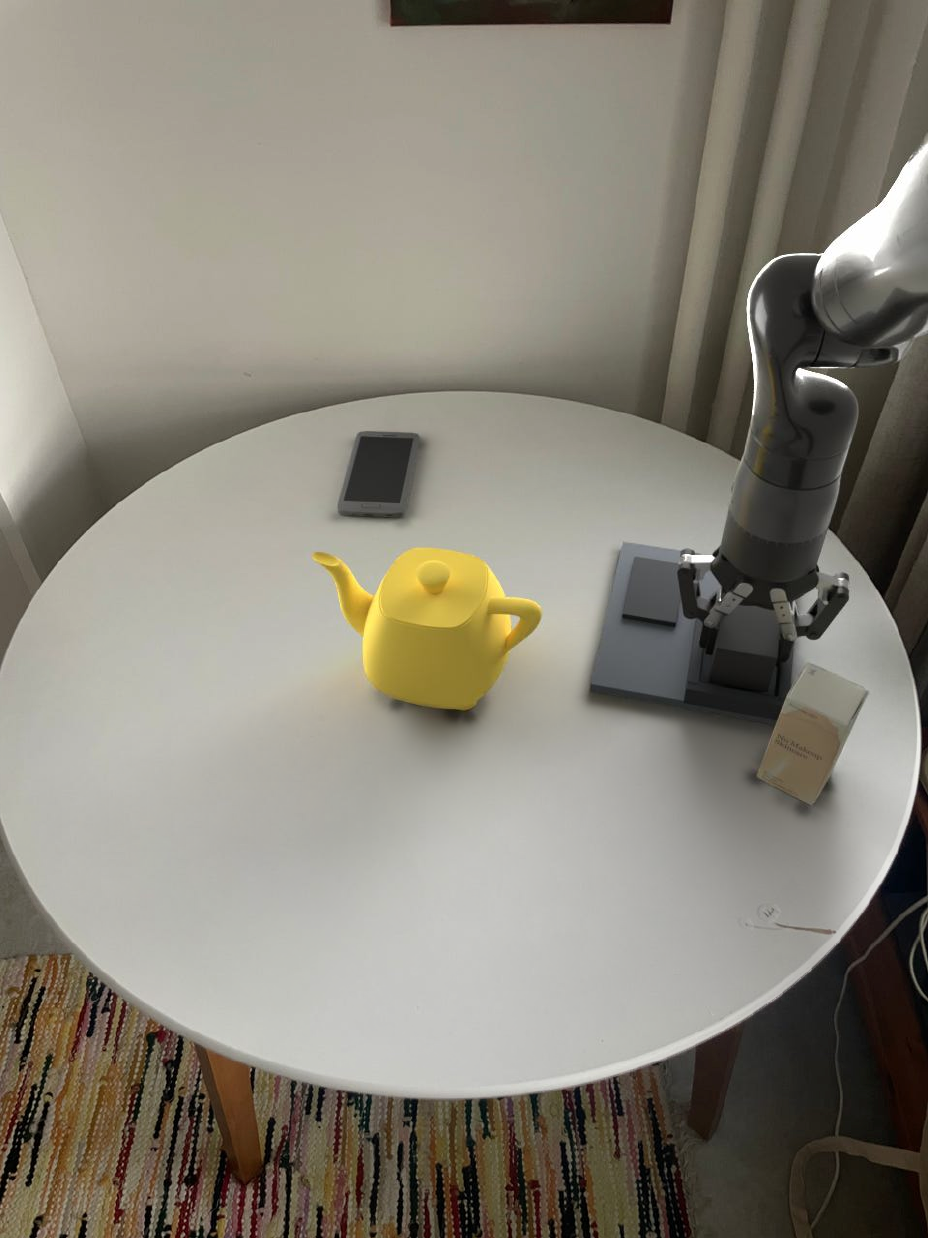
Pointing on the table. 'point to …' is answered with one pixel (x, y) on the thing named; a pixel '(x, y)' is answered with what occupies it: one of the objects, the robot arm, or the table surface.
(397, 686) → the teapot
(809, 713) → the box
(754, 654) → the black block
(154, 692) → the table surface
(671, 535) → the table surface
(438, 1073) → the table surface
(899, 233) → the robot arm
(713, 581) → the base pad
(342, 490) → the cell phone
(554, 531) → the table surface
